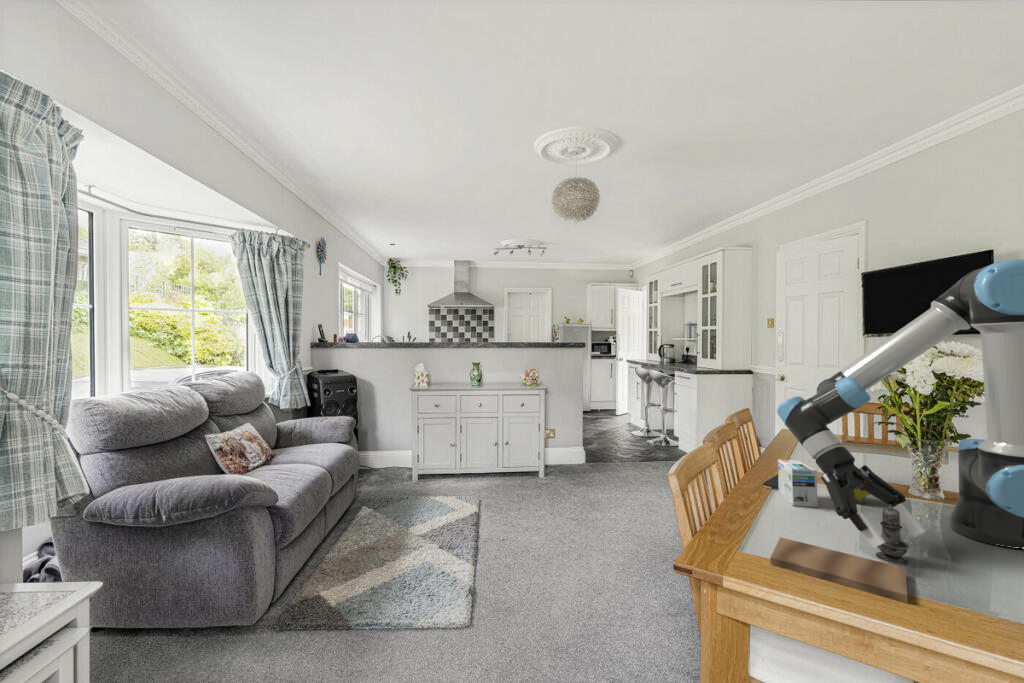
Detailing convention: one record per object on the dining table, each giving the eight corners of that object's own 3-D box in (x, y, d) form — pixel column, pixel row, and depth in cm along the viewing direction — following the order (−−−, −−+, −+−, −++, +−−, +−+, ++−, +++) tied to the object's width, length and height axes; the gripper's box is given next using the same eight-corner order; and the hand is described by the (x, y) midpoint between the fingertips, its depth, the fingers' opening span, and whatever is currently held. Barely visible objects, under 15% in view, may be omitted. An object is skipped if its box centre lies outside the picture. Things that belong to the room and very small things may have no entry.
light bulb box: (818, 507, 123) (818, 470, 123) (792, 506, 125) (791, 469, 125) (801, 494, 134) (800, 459, 134) (777, 493, 135) (776, 458, 135)
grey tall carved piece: (873, 549, 99) (873, 497, 99) (908, 557, 96) (907, 503, 96) (874, 559, 95) (873, 505, 95) (910, 568, 91) (909, 511, 91)
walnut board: (905, 575, 89) (904, 567, 89) (907, 603, 80) (907, 595, 80) (780, 543, 103) (780, 537, 103) (770, 564, 94) (770, 557, 94)
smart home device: (761, 482, 141) (784, 470, 154) (761, 488, 141) (784, 474, 154) (790, 489, 135) (811, 475, 147) (790, 495, 135) (811, 480, 147)
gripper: (851, 455, 114) (921, 536, 100) (782, 466, 106) (847, 556, 92) (874, 440, 109) (951, 523, 95) (802, 450, 101) (875, 543, 87)
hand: (900, 539), depth 94 cm, fingers open, 13 cm apart
